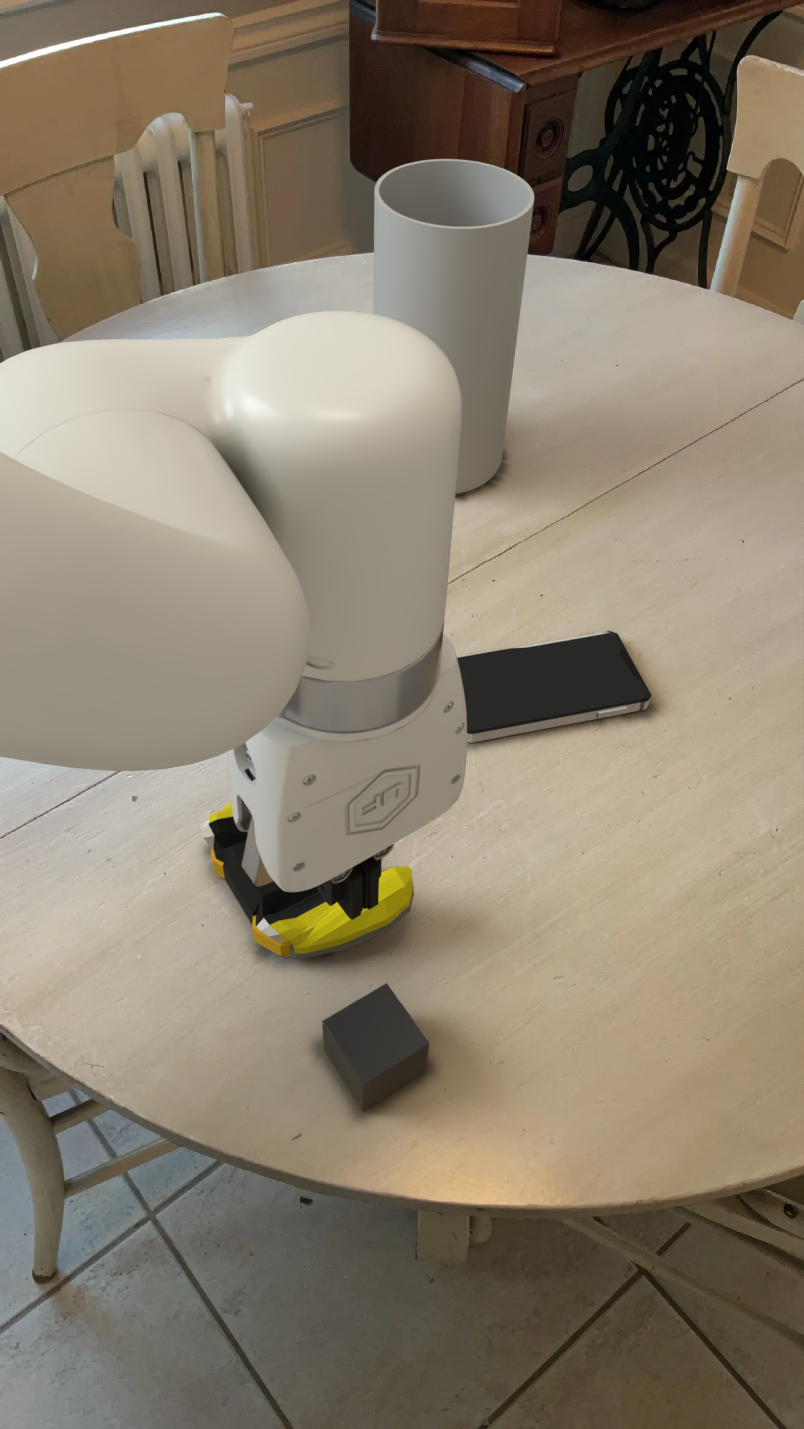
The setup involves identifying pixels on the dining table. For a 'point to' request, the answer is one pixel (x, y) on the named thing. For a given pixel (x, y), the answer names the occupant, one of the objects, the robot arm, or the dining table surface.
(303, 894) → the gaming controller
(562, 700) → the smartphone
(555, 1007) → the dining table surface
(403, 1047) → the block
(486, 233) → the cylinder vase
